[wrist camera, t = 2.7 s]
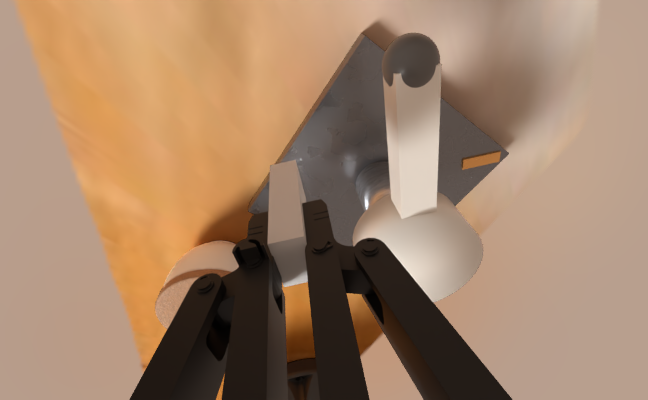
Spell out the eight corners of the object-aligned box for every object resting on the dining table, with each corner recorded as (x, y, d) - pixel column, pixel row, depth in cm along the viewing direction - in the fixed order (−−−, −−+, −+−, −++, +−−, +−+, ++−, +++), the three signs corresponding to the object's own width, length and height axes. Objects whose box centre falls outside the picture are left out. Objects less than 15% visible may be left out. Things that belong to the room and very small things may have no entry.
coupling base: (383, 263, 43) (407, 325, 35) (248, 203, 35) (241, 267, 27) (501, 147, 35) (566, 195, 27) (360, 33, 26) (396, 53, 19)
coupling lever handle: (454, 258, 29) (476, 293, 26) (358, 279, 29) (369, 317, 26) (475, 11, 18) (521, 17, 14) (318, 46, 18) (328, 60, 14)
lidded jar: (167, 279, 39) (142, 351, 32) (184, 214, 34) (158, 281, 27) (251, 294, 43) (246, 362, 35) (278, 237, 38) (279, 301, 30)
